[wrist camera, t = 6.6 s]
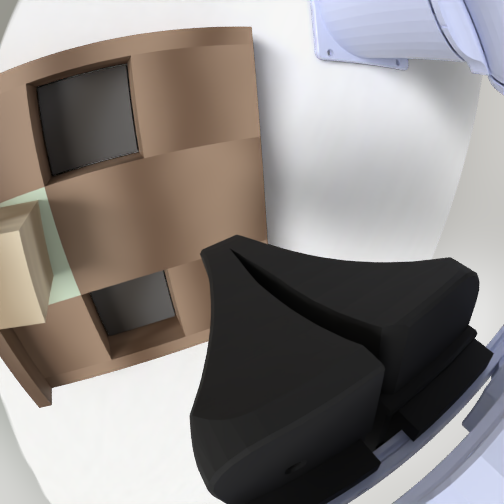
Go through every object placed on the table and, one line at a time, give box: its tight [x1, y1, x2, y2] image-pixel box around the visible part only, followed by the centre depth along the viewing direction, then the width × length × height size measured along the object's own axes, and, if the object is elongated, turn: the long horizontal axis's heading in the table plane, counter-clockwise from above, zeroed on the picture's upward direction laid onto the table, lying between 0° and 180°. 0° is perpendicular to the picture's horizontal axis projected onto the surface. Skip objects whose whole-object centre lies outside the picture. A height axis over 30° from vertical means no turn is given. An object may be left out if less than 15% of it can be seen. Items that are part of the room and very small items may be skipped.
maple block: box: [0, 200, 54, 329], centre depth 10 cm, size 4×4×4 cm
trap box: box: [0, 27, 268, 408], centre depth 15 cm, size 17×18×4 cm
